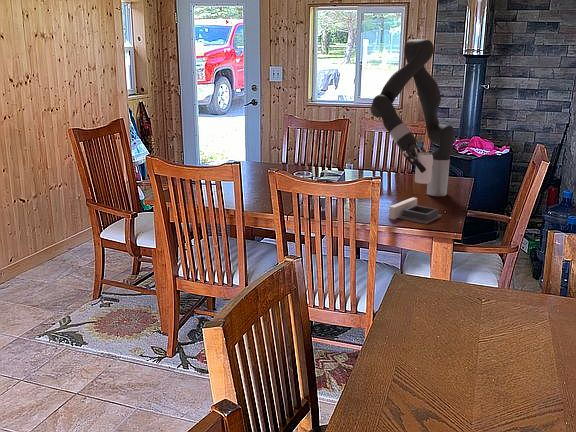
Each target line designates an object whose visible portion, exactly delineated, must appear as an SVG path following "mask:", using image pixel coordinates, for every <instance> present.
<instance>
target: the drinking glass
mask: <svg viewBox="0 0 576 432" xmlns="http://www.w3.org/2000/svg"><path fill="white" fill-rule="evenodd" d="M316 180H317V181H326V182H334V183H335V181H333V180H331V179H325V178H322V179H321V178H317V179H316ZM310 199H311V200H310V201H311V209H312V208H313V199H312V197H311V196H310ZM321 207H322V209H324V208H325V199H324V198H321Z"/></svg>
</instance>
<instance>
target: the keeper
mask: <svg viewBox="0 0 576 432" xmlns="http://www.w3.org/2000/svg"><path fill="white" fill-rule="evenodd" d="M441 217H442V214H441V213H439V209H438V208H433V207H427V206H422V205H418V204H417V205H414V206H412V207H409V208H407V209H405V210H404V212H403V215H401V216H399V217H398V219H400V220H401V219H402V220H406V221H411V222H415V223H418V224H419V223H420V224H424V225H427V224H429V223H431V222H433V221H435V220H437V219H439V218H441Z"/></svg>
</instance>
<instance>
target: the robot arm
mask: <svg viewBox="0 0 576 432" xmlns="http://www.w3.org/2000/svg"><path fill="white" fill-rule="evenodd" d="M434 51H435V49H434V44H433V42H432V41H431V40H430V39H425V38H421V39H417V38H416V39H415V38H413V39H409V40H407V41H406V43H405V45H404V57H405V60H406V64H405V65H404V66H402V67H401V68H400V69H398V70H397V71H395V72H394V73H393V74H392V75H391V77H389V78H388V80H387V82H385V84H384V86H383V88H382V90H381V92H380V94H378V95H376V96H375V97H374V98H373V100H372V102H371V106H370V112H371V115H372V116H374V117H375V118H381V119H382V124H383V126H384V128H385V130H386V131H387V132H388V134H389V135H390V136H391V138H392V140H393V141H394V142H395V144H396V145H397V147H398V149H400V151H401V152H404V153H403V154H402V155H403V156H404V158H405V159H406V160H407V161H408V162H409V164H410V165H411V166H415V167H416V166H417V168H418V169H419V170H420V172H421V173H423V172H425V171H426V168H425V167H424V166H423V165H422V164H421V163H420V161H419V159H418V157H419V156H418V152H427V150H426V149H425V147H424V146H420V147H419V145H417V143H418V139H417V138H416V137H415V135H414V134H413V133H412V131H411V129H410V128H409V127H408V126H407V125H406V124H405V123H404V121H403V120H402V118H400V117H399V114H398V113H397V112H396V109H395V107H394V102H395V100H396V99H397V97H398V96H399V95H400V94H401V93H402V91H403V89H404V88H405V86H406V85H407V84H408V83H409V82H410V80H411V79H412V78H413V81H414V84H415V87H416V91H417V95H418V99H419V102H420V107H421V108H422V109H421V110H422V113H423V117H424V121H425V127H426V133H427V138H428V139H429V142H430V143H432V144H437V145H438V148H437V149H436V150H433V151H430V153H432V156H433V165H432V176H431V183H429V184H426V187H427V188H426V194H427V195H428V196H433V197H445V196H447V193H448V182H449V173H450V162H451V155H452V153H453V147H454V141H455V129H454V127H453V126H452V125H451V124H450V125H449V124H445V123H440V121H439V118H438V117H439V116H438V109H439V107H440V104H441V100H442V95H441V91H440V87H439V84H438V83H437V81H436V80H435V78H434V77H433V76H432V75H431V74H430V73H429V71H428V70H427V69H426V67H425V65H426V64H427V63H428V62H429V61H430V60H431V58H432V56H433V55H434Z"/></svg>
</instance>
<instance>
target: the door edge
mask: <svg viewBox="0 0 576 432" xmlns="http://www.w3.org/2000/svg"><path fill="white" fill-rule="evenodd" d="M414 205H418V197H410V198H408V199H405V200H402V201H400V202H397V203H395V204H393V205H390V206H388V207H389V208H388V219H390V220H396V219H399V216H401V215H403V212H404V210H405V209H407V208H409V207H412V206H414Z"/></svg>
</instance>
